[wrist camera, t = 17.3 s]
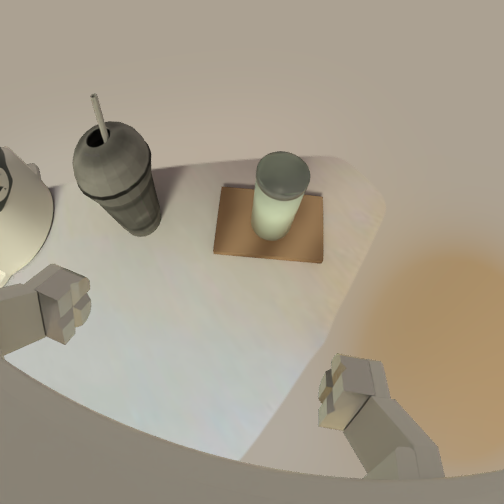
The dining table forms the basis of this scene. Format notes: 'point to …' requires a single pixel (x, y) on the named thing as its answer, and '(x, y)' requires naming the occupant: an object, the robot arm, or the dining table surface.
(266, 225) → the sage tube
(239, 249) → the walnut board
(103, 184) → the beverage cup
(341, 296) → the dining table surface
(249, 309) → the dining table surface
